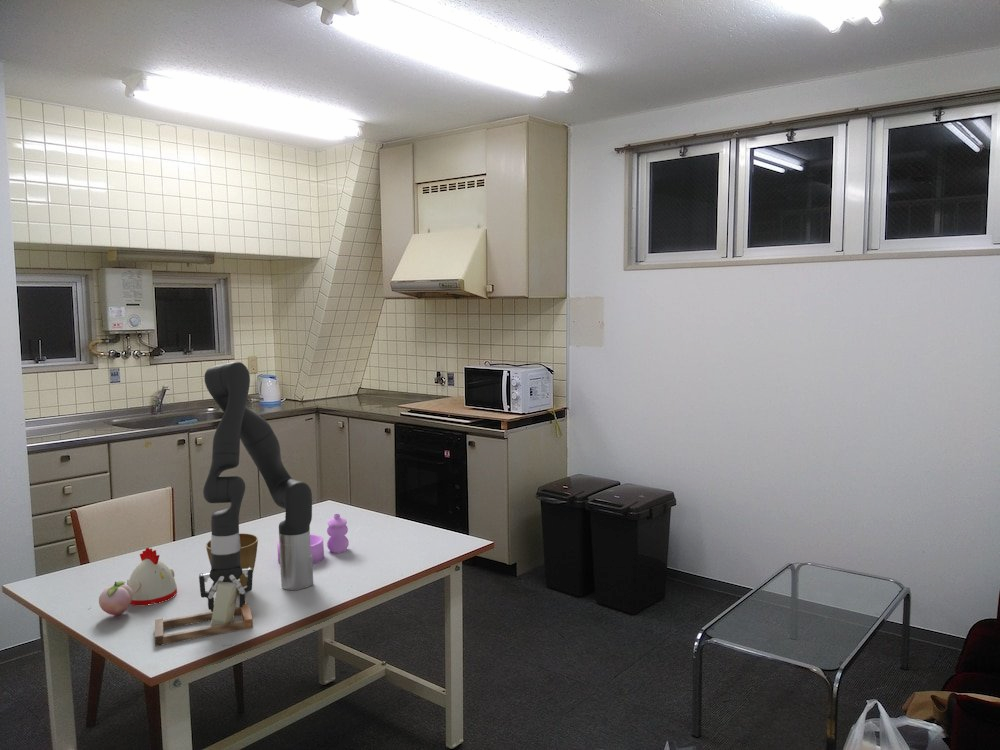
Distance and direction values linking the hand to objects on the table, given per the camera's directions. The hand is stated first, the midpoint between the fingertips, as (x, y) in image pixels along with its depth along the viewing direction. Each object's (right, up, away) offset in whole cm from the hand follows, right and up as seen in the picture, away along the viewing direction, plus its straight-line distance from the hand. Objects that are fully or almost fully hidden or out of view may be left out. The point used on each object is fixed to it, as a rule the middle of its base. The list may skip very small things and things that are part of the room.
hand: (226, 608), depth 200 cm
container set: (+10, +1, +55) cm, 55 cm away
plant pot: (-6, -3, +23) cm, 24 cm away
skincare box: (-2, -4, 0) cm, 5 cm away
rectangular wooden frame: (-6, -5, -2) cm, 8 cm away
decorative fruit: (-34, -5, +7) cm, 35 cm away
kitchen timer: (-30, -3, +21) cm, 37 cm away
